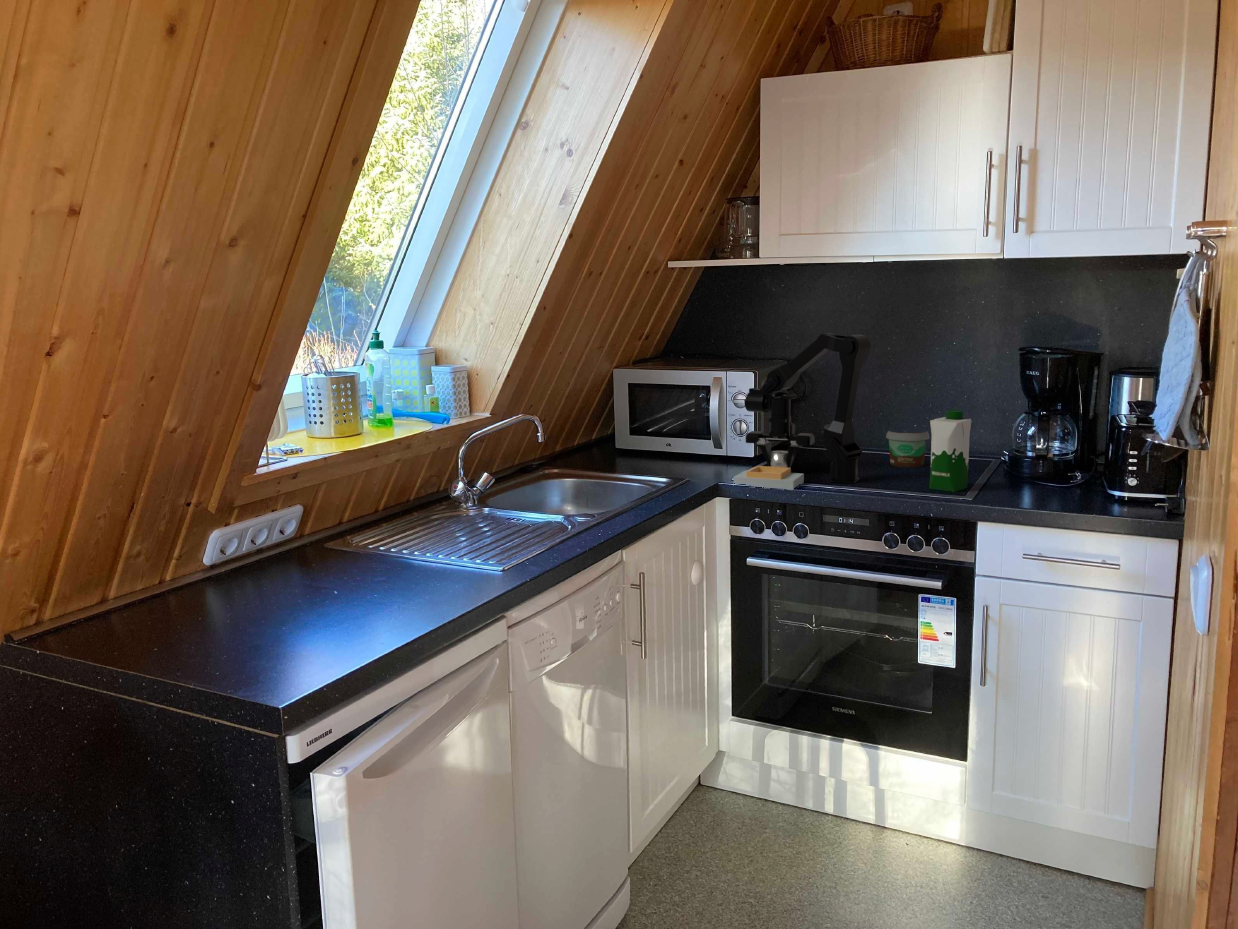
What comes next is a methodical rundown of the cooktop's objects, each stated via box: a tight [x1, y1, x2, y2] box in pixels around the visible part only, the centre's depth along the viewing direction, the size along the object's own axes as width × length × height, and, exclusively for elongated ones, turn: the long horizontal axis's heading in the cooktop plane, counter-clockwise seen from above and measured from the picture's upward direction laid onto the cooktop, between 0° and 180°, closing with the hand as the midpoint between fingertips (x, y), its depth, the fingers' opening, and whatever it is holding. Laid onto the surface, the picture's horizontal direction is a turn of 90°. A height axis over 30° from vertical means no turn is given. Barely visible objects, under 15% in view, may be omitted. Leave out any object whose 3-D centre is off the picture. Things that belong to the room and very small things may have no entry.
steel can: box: [770, 450, 788, 468], centre depth 286 cm, size 5×5×6 cm
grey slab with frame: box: [733, 465, 805, 491], centre depth 270 cm, size 16×10×4 cm, turn 65°
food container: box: [885, 430, 930, 468], centre depth 291 cm, size 12×6×10 cm, turn 80°
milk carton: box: [928, 409, 972, 493], centre depth 258 cm, size 9×9×20 cm
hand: (779, 468), depth 286 cm, fingers closed on steel can, 5 cm apart
